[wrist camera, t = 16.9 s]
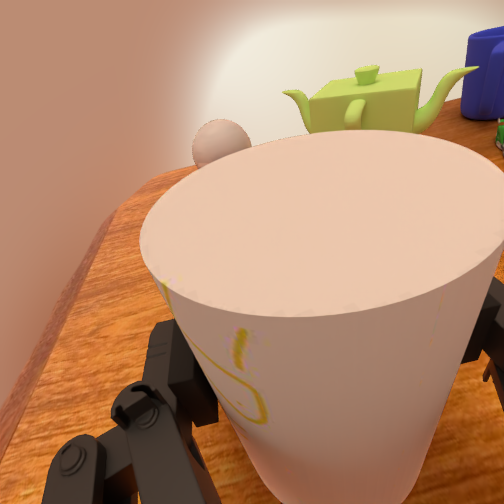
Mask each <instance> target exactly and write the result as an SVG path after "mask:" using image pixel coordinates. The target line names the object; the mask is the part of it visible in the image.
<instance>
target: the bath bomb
mask: <svg viewBox="0 0 504 504" xmlns="http://www.w3.org/2000/svg"><path fill="white" fill-rule="evenodd" d="M250 147H252V146H251V142H250V139H249V137H248V135H247V133H246V132H245V131H244V130H243V129H242V127H240V126H239V125H238V124H236V123H234V122H232V121H229V120H225V119H217V120H213V121H210V122H208V123H206V124H205V125H203V127H201V128H200V129H199V131H198V132H197V134H196V135H195V138H194V141H193V145H192V153H193V159H194V162H195V164H196V166H197V168H198V169H200V168H202V167H204V166H206V165H207V164H210V163H212V162H214V161H216V160H218V159H220V158H223V157H225V156H228V155H230V154H233V153H235V152H238V151H241V150H244V149H247V148H250Z"/></svg>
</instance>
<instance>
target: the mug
mask: <svg viewBox="0 0 504 504" xmlns="http://www.w3.org/2000/svg"><path fill="white" fill-rule="evenodd" d="M474 66H479V68H477V69H475V70H473V71H471V72H470V73H468V74H466V75H465V76H464V80H463V88H462V97H461V113H462V115H463V116H465V117H467V118H470V119H476V120H492V119H498V118H504V26H502V27H497V28H492V29H487V30H483V31H480V32H476V33H474V34H472V35H470V36H469V38H468V45H467V55H466V63H465V68H466V67H474Z"/></svg>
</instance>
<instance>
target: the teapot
mask: <svg viewBox="0 0 504 504" xmlns="http://www.w3.org/2000/svg"><path fill="white" fill-rule="evenodd" d="M477 68H479V66H474V67H466V68H461V69H456V70H452V71H451V72H449V73H447V74H446V75H445V76H444V77H443V78H442V79H441V81H440V82H439V84H438V85H437V87H436V89H435V91H434V93H433V96H432V97H431V99H430V100H429V102H428V103H427V104H426V105H424V106H423V107H421V108H419V109H418V102H419V93H420V86H421V78H422V69H413V70H406V71H398V72H391V73H384V74H378V71H379V66H377V65H371V66H365V67H361V68H358V69H357V70H355V75H356V77H355V78H347V79H340V80H333V81H330V82H329V83H328V84H327V85H325V86H324V87H323V88H322V89H321V90H320V91H319V92H317V93H316V94H315V95H314V96H313V97H312V98H310V99H309V100H308V98H307V97H306V95H305V94H304V93H303V92H302V91H300V90H288V91H283V92H282V93H284V94H286V95H288V96H290V97H291V98H292V99H293V100H294V101H295V102H296V103H297V105H298V107H299V110H300V113H301V116H302V119H303V122H304V124H305V127H306V129H307V130H308V132H309V133H310V134H313V133H321V132H330V131H344V130H385V131H398V132H407V133H414V134H420V133H422V132H423V131H425V130H426V129H427V128H428V127H429V126H430V125H431V124H432V123H433V122H434V120H435V119H436V118H437V116H438V114H439V112H440V110H441V108H442V106H443V104H444V101H445V99H446V97H447V95H448V93H449V91H450V90H451V89H452V87H453V86H454V85H455V83H456V82H457V81H459V80H460V79H461V78H462V77H463V76H465V75H466V74H468V73H470V72H471V71H473V70H475V69H477Z"/></svg>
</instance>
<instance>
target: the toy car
mask: <svg viewBox="0 0 504 504" xmlns="http://www.w3.org/2000/svg"><path fill="white" fill-rule="evenodd" d="M500 122H504V119H502V120H500V118H498V123H499V124H500ZM496 143H497V144H498V145H497V144H496V145H497V146H498V147H499V148H500V149H503V151H504V125H500V126H498V129H497V135H496ZM503 155H504V152H503Z"/></svg>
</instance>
